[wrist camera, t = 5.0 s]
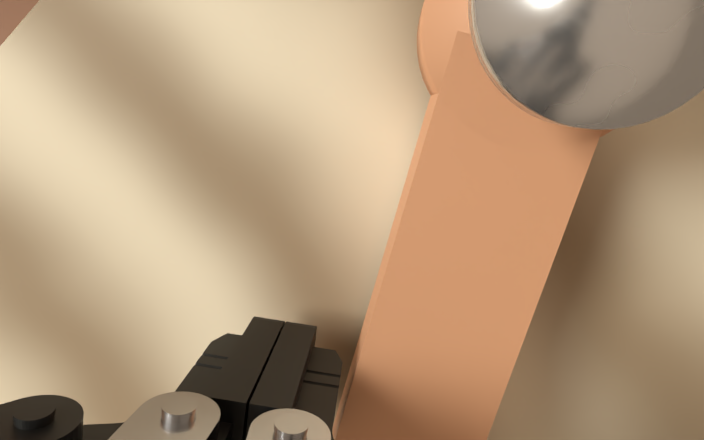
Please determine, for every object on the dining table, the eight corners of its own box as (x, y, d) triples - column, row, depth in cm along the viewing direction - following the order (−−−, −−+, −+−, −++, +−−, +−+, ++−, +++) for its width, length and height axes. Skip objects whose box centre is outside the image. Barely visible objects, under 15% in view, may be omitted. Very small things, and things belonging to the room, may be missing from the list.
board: (449, -433, 11) (455, -488, 10) (1153, 500, 14) (1213, 530, 13) (-226, 343, 16) (-266, 358, 15) (399, 900, 19) (399, 944, 18)
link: (452, -101, 11) (466, -148, 9) (663, -43, 11) (726, -78, 9) (258, 587, 14) (238, 661, 13) (412, 632, 14) (415, 714, 12)
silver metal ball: (570, -133, 8) (646, -237, 6) (696, 28, 9) (819, -4, 6) (410, 17, 9) (419, -17, 7) (534, 163, 10) (586, 183, 7)
